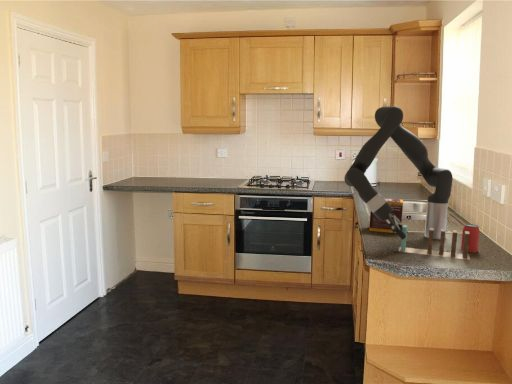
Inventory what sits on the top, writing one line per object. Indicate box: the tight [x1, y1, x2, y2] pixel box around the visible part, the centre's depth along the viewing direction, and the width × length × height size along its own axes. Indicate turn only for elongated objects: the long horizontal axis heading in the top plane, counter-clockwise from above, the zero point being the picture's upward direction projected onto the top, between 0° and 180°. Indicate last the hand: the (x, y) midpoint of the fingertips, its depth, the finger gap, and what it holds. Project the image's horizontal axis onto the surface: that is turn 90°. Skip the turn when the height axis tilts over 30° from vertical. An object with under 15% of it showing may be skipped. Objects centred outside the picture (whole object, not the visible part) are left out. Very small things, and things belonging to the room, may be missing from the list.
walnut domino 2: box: [438, 229, 446, 257], centre depth 202 cm, size 2×5×10 cm, turn 159°
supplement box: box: [368, 197, 404, 234], centre depth 249 cm, size 10×15×16 cm
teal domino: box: [400, 224, 408, 251], centre depth 208 cm, size 2×5×10 cm, turn 159°
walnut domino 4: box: [462, 231, 470, 258], centre depth 199 cm, size 2×5×10 cm, turn 159°
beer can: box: [460, 223, 480, 253], centre depth 210 cm, size 7×7×12 cm
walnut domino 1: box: [427, 228, 434, 254], centre depth 204 cm, size 2×5×10 cm, turn 159°
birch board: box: [398, 246, 471, 261], centre depth 204 cm, size 28×8×1 cm, turn 69°
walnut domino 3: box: [450, 229, 458, 257], centre depth 201 cm, size 2×5×10 cm, turn 159°
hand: (405, 235), depth 207 cm, fingers open, 8 cm apart
